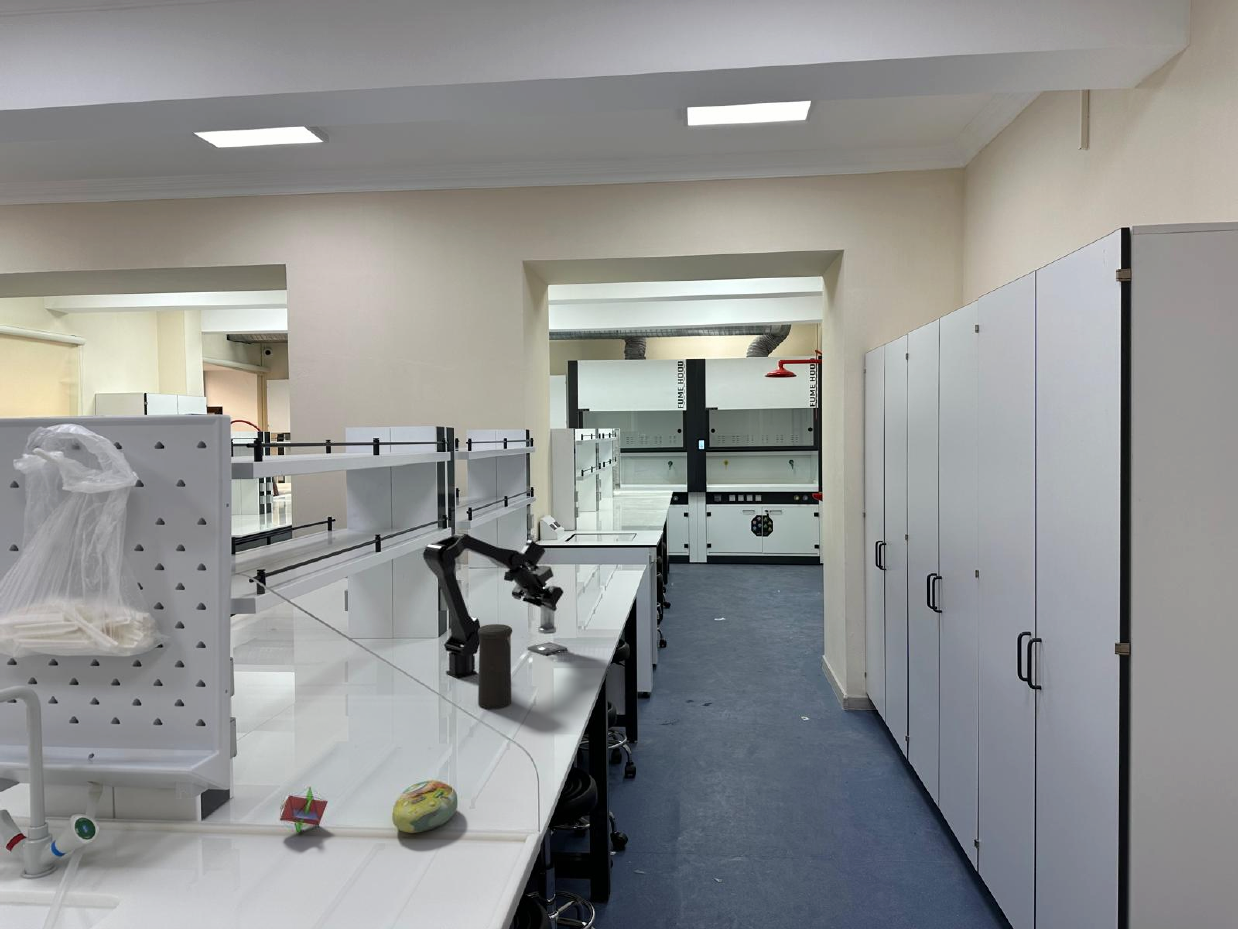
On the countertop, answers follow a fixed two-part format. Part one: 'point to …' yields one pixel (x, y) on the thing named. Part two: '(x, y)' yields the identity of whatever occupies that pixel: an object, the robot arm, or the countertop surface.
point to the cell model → (424, 806)
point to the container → (494, 666)
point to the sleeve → (546, 620)
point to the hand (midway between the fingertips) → (550, 608)
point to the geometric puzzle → (302, 810)
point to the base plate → (546, 648)
